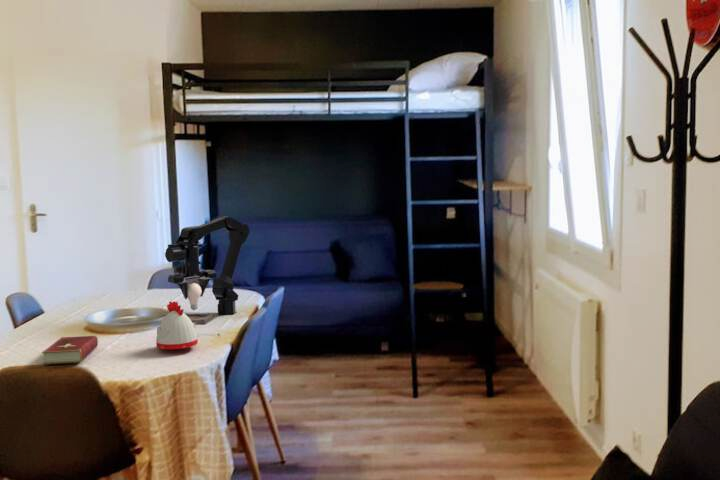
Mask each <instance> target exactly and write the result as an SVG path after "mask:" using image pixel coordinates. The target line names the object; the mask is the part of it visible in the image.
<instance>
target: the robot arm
mask: <svg viewBox="0 0 720 480" xmlns="http://www.w3.org/2000/svg"><path fill="white" fill-rule="evenodd" d="M220 229H225V231H227V232H228V239H229V245H228V249H227V252H226V256H225V259H224V263H223V267H222V269H221V273H220V275H219V276H218V277H217V273H216V271H215V270H213V269H205V270H201V271H200V265H201V263H202V262H201V260H200V256H199V255H200V254H199V253H200V252H199V248H201V247H203V246H204V245H203V244H202V243H201V242H200V240H202V239H203V238H204V237H205V236H206V235H208V234H211V233H213V232H217V231H218V230H220ZM250 233H251V229H250V227H249V225H248V224H247V223H242V222H241V221H238V220H237V219H234V218H233V217H231V216H229V215H228V216H226V215H224V216H220V217H218V218H215V219H212V220H210V221H208V222H205V223H202V224H200V225H196V226H186V227H183V228H181V230H180V234H179V236H178V237H177V240H176V241H175V243H174V244H171V243H169V244H168V245H167V248H166V249H165V253H164V256H165V259H166V260H167V262H168V263H175V262H178V261H179V262H181V261H182V265H180V264H175V265H173V272H174V273H173V274H169V275H168V277H167V283H171V284H175V285H178V287H179V288H180V291H181V293H182V295H183V298H184V299H185V300H187V299H188V297H187V285H188V282H186V281H187V280H192V279H197V281H198V282H199V284H198V285H199V286H200V287H201V290H202V292H201V295H200V297H201V298H202V297H204V294H205V291H206V288H207V286H208V284H209V282H211V280H212V279H213V283H212V286H211V288H212V289H211V292H212V294H213V296H214V298H215V300H216V301H218V304H217V316H233V315H235V314H237V313H238V311H236V310H237V309H236V308H237V307H236V301H239V294H238V293H237V292H235V290H234V286H235V285H234V279H233V277H234V273H235V271H236V266H237V264H238V263H237V262H238V259H239V256H240V254H241V253H240V252H241V249H242V246H243V245H244V243H246V241H247V240H248V237H249V235H250Z"/></svg>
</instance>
